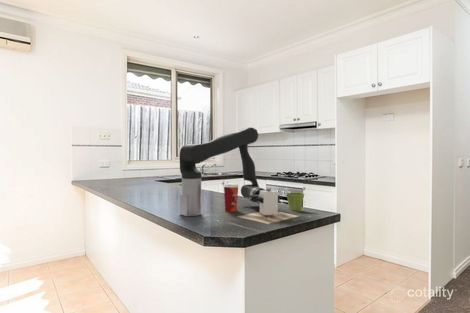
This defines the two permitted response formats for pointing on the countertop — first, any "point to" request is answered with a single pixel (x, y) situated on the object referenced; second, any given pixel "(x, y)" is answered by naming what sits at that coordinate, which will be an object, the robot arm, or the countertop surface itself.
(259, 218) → the board
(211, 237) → the countertop surface
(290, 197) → the plant pot
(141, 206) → the countertop surface
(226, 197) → the paper cup
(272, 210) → the white upright block
